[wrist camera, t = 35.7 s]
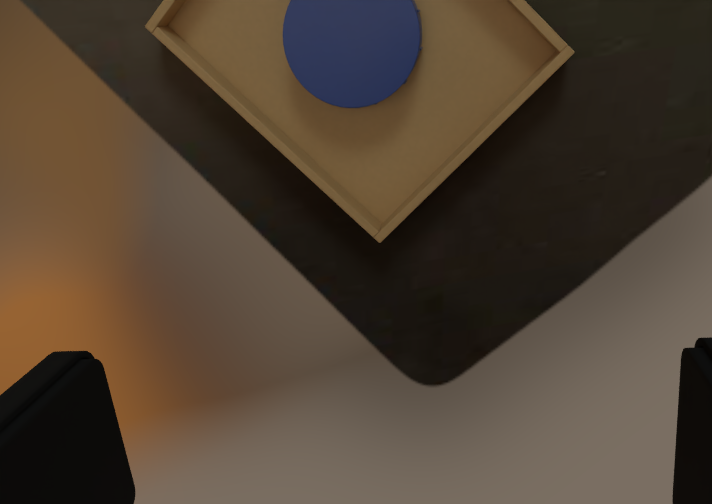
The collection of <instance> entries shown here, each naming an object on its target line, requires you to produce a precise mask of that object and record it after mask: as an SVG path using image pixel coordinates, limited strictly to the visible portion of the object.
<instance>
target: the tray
mask: <svg viewBox="0 0 712 504" xmlns="http://www.w3.org/2000/svg"><path fill="white" fill-rule="evenodd" d="M290 1H291V0H163V2H162V3H161V4H160V6H159V7H158V9H157V10H156V11H155V13H154V14H153V16H152V17H151V19H150V20H149V21H148V23H147V24H146V26H145V28H146V29H147V30H149V31H150V32H151V33H152V34H153V35H154V36H155V37H156V38H157V39H158V40H159V41H161V42H162V43H163V44H164V45H165V46H166V47H167V48H168V49H169V50H170V51H171V52H172V53H174V54H175V55H176V56H177V57H178V58H179V59H180V60H181V61H182V62H183V63H184V64H185V65H187V66H188V67H189V68H190V69H191V70H192V71H193V72H194V73H195V74H196V75H197V76H198V77H200V78H201V79H202V80H203V81H204V82H205V83H206V84H207V85H208V86H209V87H210V88H212V89H213V90H214V91H215V92H216V93H217V94H218V95H219V96H220V97H221V98H222V99H223V100H225V101H226V102H227V103H228V104H229V105H230V106H231V107H232V108H233V109H234V110H235V111H236V112H238V113H239V114H240V115H241V116H242V117H243V118H244V119H245V120H246V121H247V122H248V123H250V124H251V125H252V126H253V127H254V128H255V129H256V130H257V131H258V132H259V133H260V134H261V135H263V136H264V137H265V138H266V139H267V140H268V141H269V142H270V143H271V144H272V145H273V146H274V147H276V148H277V149H278V150H279V151H280V152H281V153H282V154H283V155H284V156H285V157H286V158H288V159H289V160H290V161H291V162H292V163H293V164H294V165H295V166H296V167H297V168H298V169H299V170H301V171H302V172H303V173H304V174H305V175H306V176H307V177H308V178H309V179H310V180H311V181H312V182H314V183H315V184H316V185H317V186H318V187H319V188H320V189H321V190H322V191H323V192H324V193H326V194H327V195H328V196H329V197H330V198H331V199H332V200H333V201H334V202H335V203H336V204H337V205H339V206H340V207H341V208H342V209H343V210H344V211H345V212H346V213H347V214H348V215H349V216H350V217H352V218H353V219H354V220H355V221H356V222H357V223H358V224H359V225H360V226H361V227H362V228H364V229H365V230H366V231H367V232H368V233H369V234H370V235H371V236H372V237H374V239H375V240H377V241H378V242H379V243H381V242H382V241H383V240H384V239H385V238H386V237H387V236H388V235H389V234H390V233H391V232H392V231H393V230H394V229H395V228H396V227H397V226H398V225H399V224H400V223H401V222H402V221H403V220H404V219H405V218H406V217H407V216H408V215H409V214H410V213H411V212H412V211H413V210H414V209H415V208H416V207H418V206H419V205H420V204H421V203H422V202H423V201H424V200H425V199H426V198H427V197H428V196H429V195H430V194H431V193H432V192H433V191H434V190H435V189H436V188H437V187H438V186H439V185H440V184H441V183H442V182H443V181H444V180H445V179H446V178H447V177H448V176H449V175H450V174H451V173H452V172H453V171H454V170H455V169H456V168H457V167H458V166H459V165H460V164H461V163H462V162H464V161H465V160H466V159H467V158H468V157H469V156H470V155H471V154H472V153H473V152H474V151H475V150H476V149H477V148H478V147H479V146H480V145H481V144H482V143H483V142H484V141H485V140H486V139H487V138H488V137H489V136H490V135H491V134H492V133H493V132H494V131H495V130H496V129H497V128H498V127H499V126H500V125H501V124H502V123H503V122H504V121H505V120H506V119H507V118H508V117H509V116H511V115H512V114H513V113H514V112H515V111H516V110H517V109H518V108H519V107H520V106H521V105H522V104H523V103H524V102H525V101H526V100H527V99H528V98H529V97H530V96H531V95H532V94H533V93H534V92H535V91H536V90H537V89H538V88H539V87H540V86H541V85H542V84H543V83H544V82H545V81H546V80H547V79H548V78H549V77H550V76H551V75H552V74H553V73H554V72H555V71H557V70H558V69H559V68H560V67H561V66H562V65H563V64H564V63H565V62H566V61H567V60H568V59H569V58H570V57H571V56H572V55H573V54H574V51H573V50H572V49H571V47H570V46H568V45H567V43H566V42H565V41H564V40H563V39H562V38H561V37H560V36H559V35H558V34H557V33H556V32H555V31H554V30H553V29H552V28H551V27H550V26H549V25H548V24H547V23H546V22H545V21H544V20H543V19H542V18H541V17H540V16H539V15H538V14H537V13H536V12H535V11H534V9H533V8H532V7H531V6H530V5H529V4H528V3H527V2H526V1H525V0H414V1H415V3H416V5H417V8H418V10H419V9H420V12H419V14H420V18H421V23H422V45H421V47H423V48H422V50H421V51H420V54H419V57H418V60H417V63H416V65H415V67H414V69H413V71H412V72H411V74H410V75H409V77H408V78H407V80H408V81H407V82H406V83H405V84H402V86H401V87H400V88H399V89H398V90H397V91H396V92H394V93H393V94H392V95H391V96H389V97H388V98H386V99H384V100H383V101H381V102H378V103H377V104H376V105H375V104H373V105H370V106H367V107H360V108H344V107H338V106H334V105H331V104H328V103H326V102H323V101H322V100H320V99H318V98H316V97H315V96H314V95H312V94H311V93H309V92H308V91H307V90H306V89H305V88H304V87H303V86H302V85H301V83H300V82H299V81H298V80H297V78H296V77H295V75H294V74H293V72H292V70H291V68H290V66H289V64H288V61H287V58H286V55H285V51H284V46H283V23H284V18H285V14H286V11H287V7H288V5H289V3H290Z"/></svg>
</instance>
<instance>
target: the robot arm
mask: <svg viewBox="0 0 712 504" xmlns="http://www.w3.org/2000/svg"><path fill="white" fill-rule="evenodd" d="M134 500H135V486H134V482H133V478H132V474H131V470H130V467H129V463H128V459H127V455H126V451H125V448H124V444H123V440H122V436H121V432H120V428H119V424H118V420H117V417H116V413H115V409H114V405H113V402H112V398H111V394H110V390H109V386H108V382H107V378H106V374H105V371H104V367H103V365H102V363H101V362H100V361H99V360H97V359H94V357H93V355H92V354H91V353H89V352H88V351H61V352H53V353H51V354H50V355H48V356H47V357H46V358H45V359H44V360H42V361H41V362H40V363H39V364H37V365H36V366H35V367H34V368H33V369H31V370H30V371H29V372H28V373H27V374H25V375H24V376H23V377H22V378H21V379H19V380H18V381H17V382H16V383H15V384H13V385H12V386H11V387H10V388H9V389H7V390H6V391H5V392H4V393H3V394H1V395H0V504H134ZM673 504H712V338H698V340H697V341H696V343H695V347H694V348H685V349H683V352H682V356H681V369H680V386H679V404H678V418H677V434H676V451H675V468H674V483H673Z"/></svg>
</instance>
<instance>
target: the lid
mask: <svg viewBox="0 0 712 504" xmlns="http://www.w3.org/2000/svg"><path fill="white" fill-rule="evenodd" d="M419 12H420V9H419V10H418V8H417V5H416V3H415V1H414V0H291V1H290V3H289V5H288V7H287V11H286V14H285V18H284V23H283V46H284V51H285V55H286V58H287V61H288V64H289V66H290V68H291V70H292V72H293V74H294V75H295V77H296V78H297V80H298V81H299V82H300V83H301V85H302V86H303V87H304V88H305V89H306V90H307V91H308V92H309V93H311V94H312V95H314V96H315V97H316V98H318V99H320V100H322V101H323V102H326V103H328V104H331V105H334V106H338V107H344V108H360V107H367V106H370V105H373V104H375V105H376V104H377V103H378V102H381V101H383V100H384V99H386V98H388V97H389V96H391V95H392V94H393V93H394V92H396V91H397V90H398V89H399V88H400V87H401V86H402V84H405V83H406V82H407V81H408V80H407V78H408V77H409V75H410V74H411V72H412V71H413V69H414V67H415V65H416V63H417V60H418V57H419V54H420V51H421V50H422V48H423V47H421V45H422V23H421V18H420V14H419Z"/></svg>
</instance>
